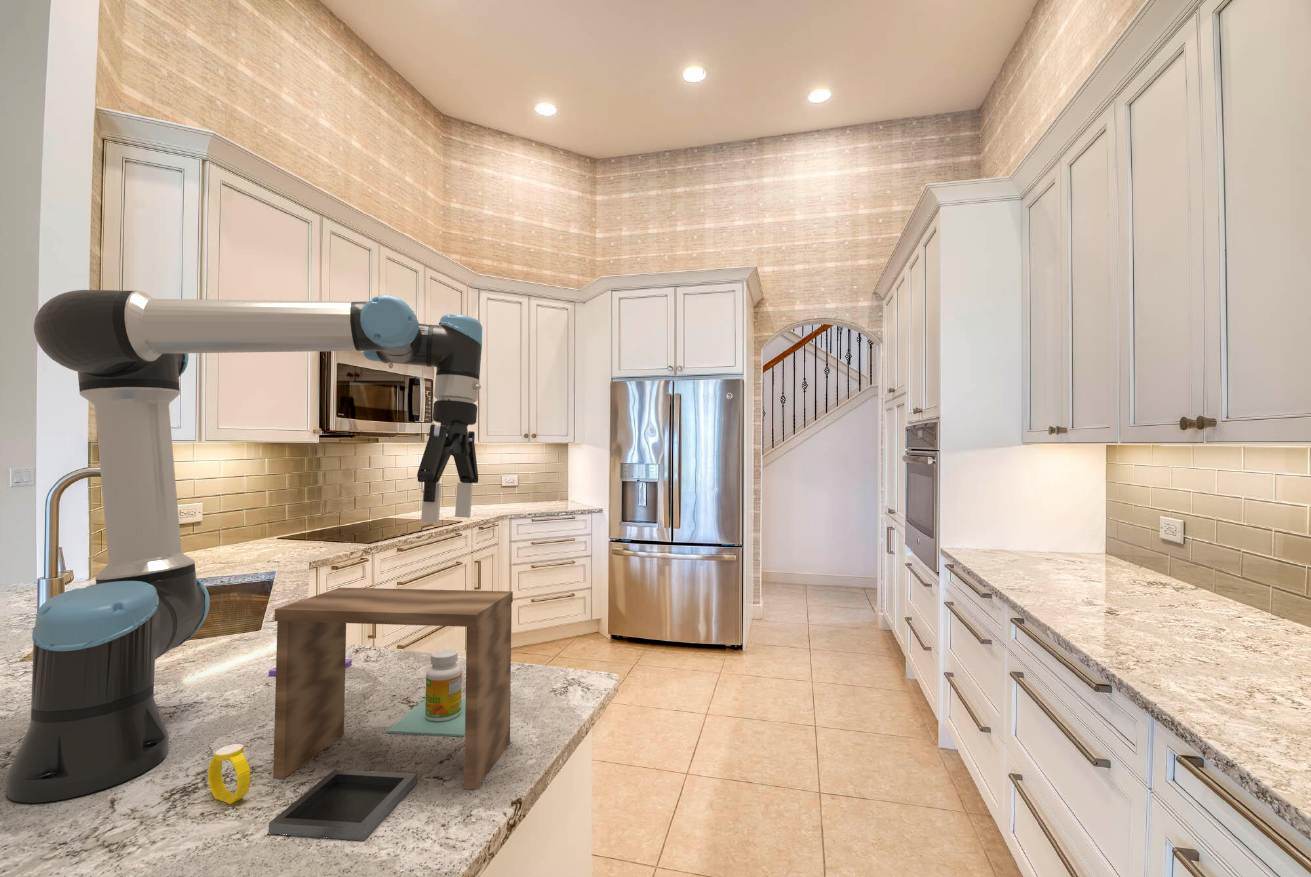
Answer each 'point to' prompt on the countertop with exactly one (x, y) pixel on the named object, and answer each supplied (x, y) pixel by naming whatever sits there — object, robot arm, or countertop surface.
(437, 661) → the supplement bottle
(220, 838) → the countertop surface
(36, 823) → the countertop surface
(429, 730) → the pad
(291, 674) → the tunnel
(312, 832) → the tray
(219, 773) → the watch
